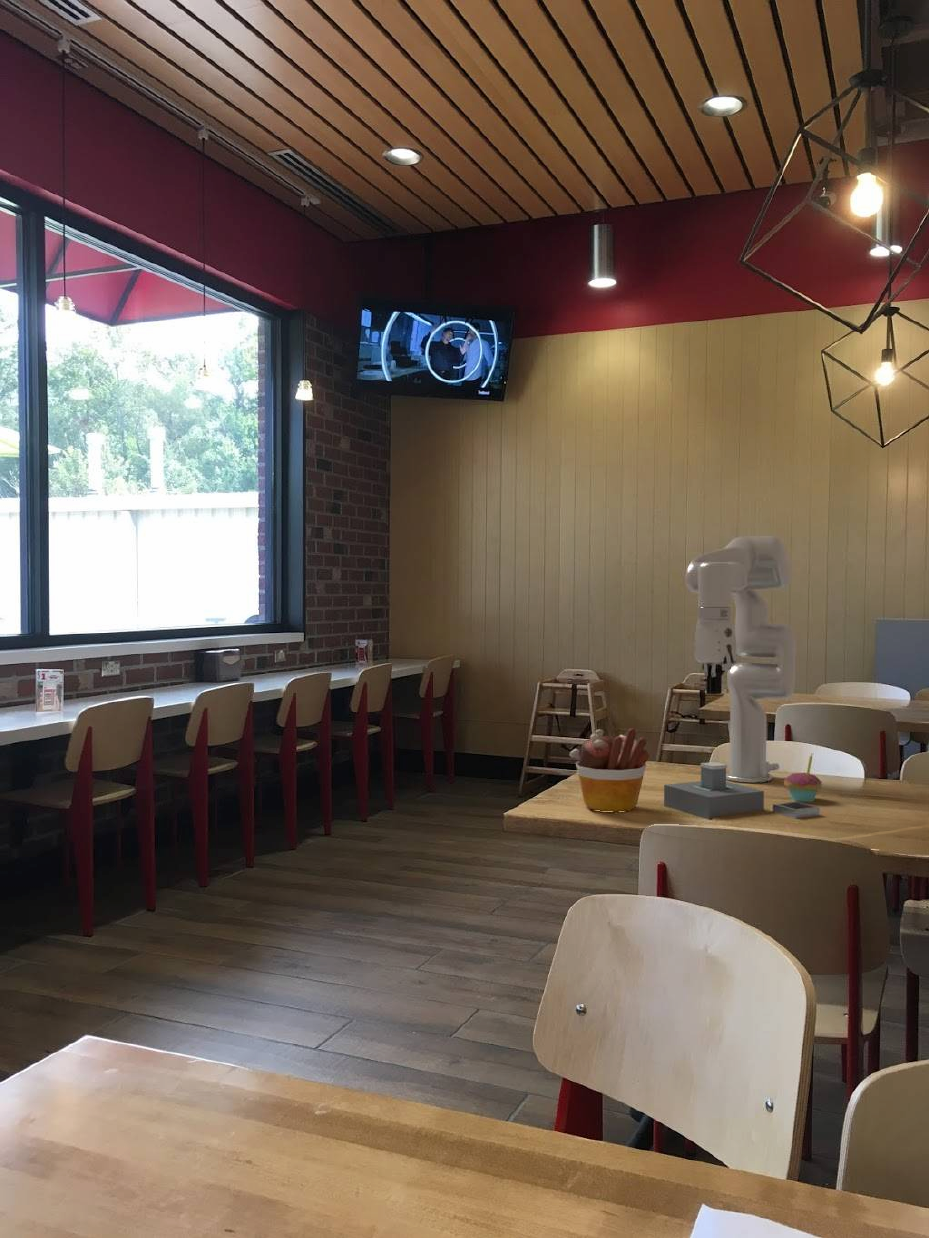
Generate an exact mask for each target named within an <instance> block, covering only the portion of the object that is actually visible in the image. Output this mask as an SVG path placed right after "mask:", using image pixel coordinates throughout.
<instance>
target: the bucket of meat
mask: <svg viewBox="0 0 929 1238" xmlns="http://www.w3.org/2000/svg"><path fill="white" fill-rule="evenodd" d="M604 733H605V731H604V730H603V729H600V728H599V729H596V730H595V733H592V734H591V735H589V736H590V737H589V739H587V740H585V741H584V742H583V743H582V746H581V750H579V749H577V748H574V749H573V750H571V751H570V752H569V756H570V758H571V759H573V758H574V759H576V760H577V761H576V762H575V765H576V766H575V767H576V770H577V774H578V780H579V785H580V789H581V793H582V798H583V802H584V804H585V805H586V807H587V808H588V810H590V809H593V810H600V811H613V812H619V811H629V810H630V811H632V810H633V809H634V808H635V807H636V806H637V804H638V801H639V797H640V794H641V793H640V792H641V788H642V783H643V781H644V777H645V771H646V769H647V764H646V763H647V761H648V759H649V758H650V754H649V752H648V751H647V749H645V747H646V745H647V739H646V738H645V737H641V738H639V739H638V740H636V736H637V731H636V728H633V727H632V728H630V729H628V730H627V733H626V735H623V734H619V736H616V737H614V736H612V735H603V734H604ZM631 809H632V810H631ZM593 810H592V811H593ZM630 811H629V812H630Z"/></svg>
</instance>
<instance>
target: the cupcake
mask: <svg viewBox="0 0 929 1238" xmlns="http://www.w3.org/2000/svg"><path fill="white" fill-rule="evenodd" d="M808 757H809V758H808V762H807V763H808V764H807V768H806V772H797V773H796V772H794V773H791V774H790V775H788V776H787V777H786V778H784V782H783V786H785V787H786V788H788V791H789V793H790V797H791V800H793V801H794V802H796V801H797V802H800V803H809V802H814V801H815V798H816V796H817V793H818V791H819V790H821V789H822V783H823V782H822V780H820V778H819V777H817V776H816V775H814V774H811V773H810V772H811V767H812V762H813V753H810V756H808Z"/></svg>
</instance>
